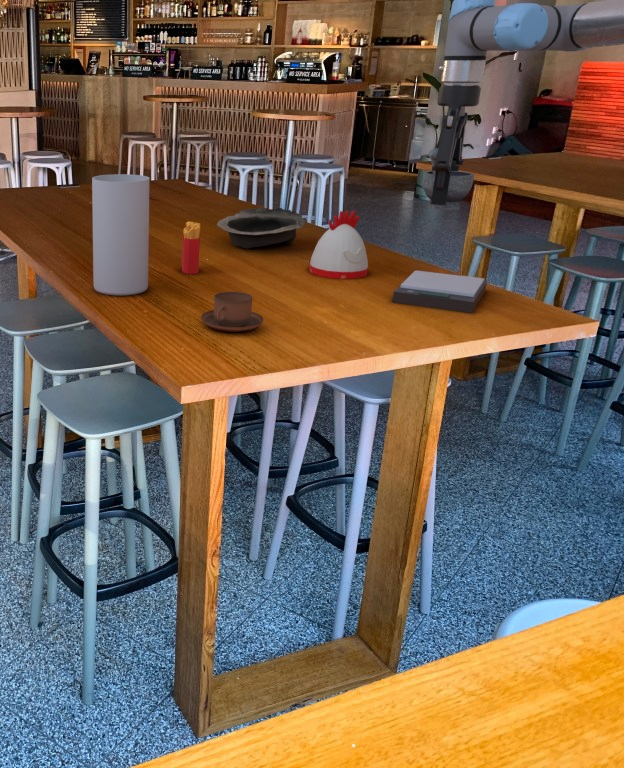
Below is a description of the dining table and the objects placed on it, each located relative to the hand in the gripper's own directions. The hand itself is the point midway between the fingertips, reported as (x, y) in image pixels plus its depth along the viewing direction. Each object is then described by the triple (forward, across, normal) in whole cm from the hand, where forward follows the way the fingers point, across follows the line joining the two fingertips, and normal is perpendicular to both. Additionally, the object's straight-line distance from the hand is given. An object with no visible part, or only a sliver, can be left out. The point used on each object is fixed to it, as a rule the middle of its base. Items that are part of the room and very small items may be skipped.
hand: (442, 200), depth 162 cm
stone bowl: (+22, -38, -52) cm, 68 cm away
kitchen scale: (+22, -8, +1) cm, 23 cm away
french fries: (+22, -1, -57) cm, 61 cm away
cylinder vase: (+22, +23, -63) cm, 71 cm away
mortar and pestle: (+2, +1, 0) cm, 2 cm away
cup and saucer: (+22, +36, -30) cm, 52 cm away
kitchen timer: (+22, -19, -24) cm, 38 cm away
